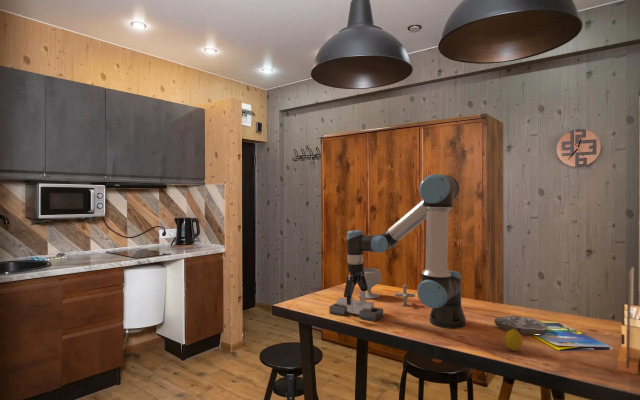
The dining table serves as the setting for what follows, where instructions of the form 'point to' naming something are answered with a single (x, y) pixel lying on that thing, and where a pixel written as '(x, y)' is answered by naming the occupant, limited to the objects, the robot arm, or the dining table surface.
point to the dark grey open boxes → (362, 314)
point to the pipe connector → (404, 295)
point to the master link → (356, 305)
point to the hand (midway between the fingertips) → (356, 307)
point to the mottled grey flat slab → (521, 324)
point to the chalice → (371, 281)
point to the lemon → (513, 340)
